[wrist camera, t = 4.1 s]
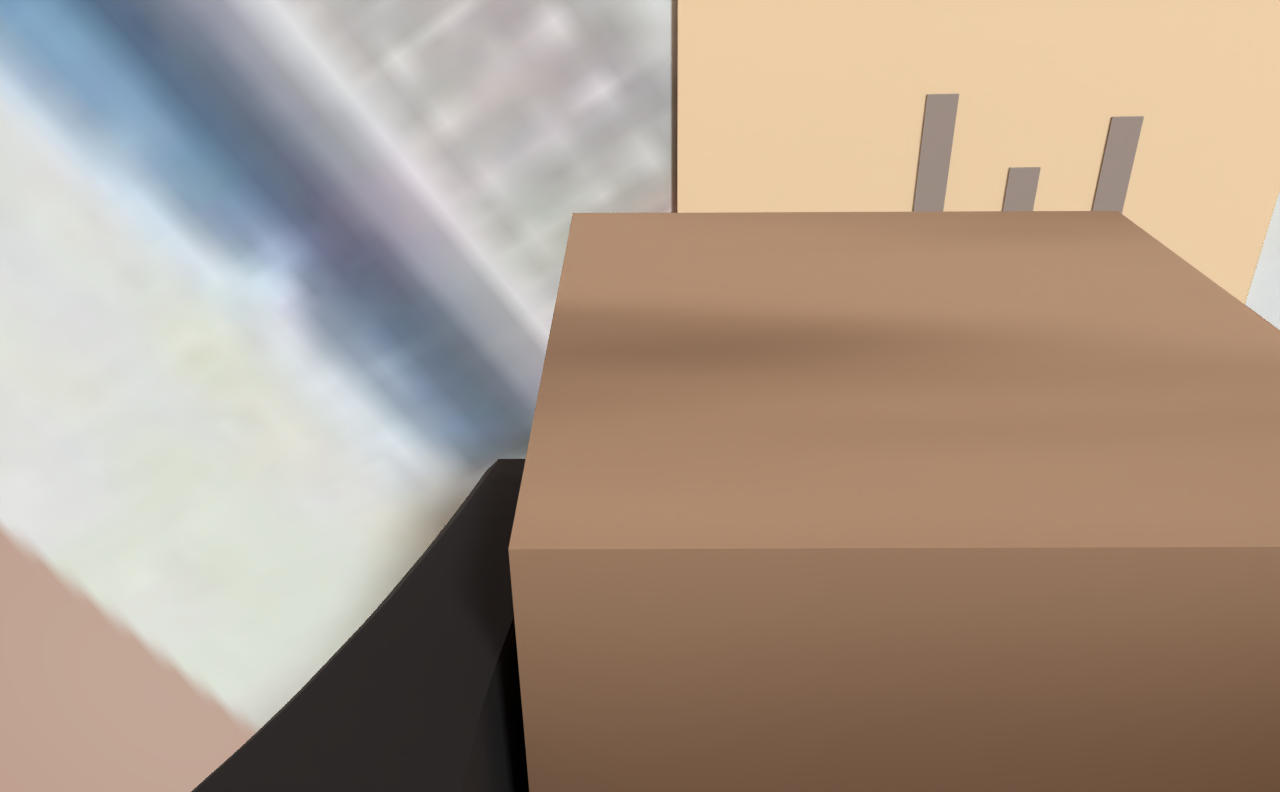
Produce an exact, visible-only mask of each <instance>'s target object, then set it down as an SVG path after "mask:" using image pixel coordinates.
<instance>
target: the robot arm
mask: <svg viewBox="0 0 1280 792" xmlns="http://www.w3.org/2000/svg"><path fill="white" fill-rule="evenodd" d="M525 460H526V459H498V460H497V461H496V462H495V463H494V464H493V465H492V466H491V467H490V468H489V469H488V470H487V471H486V472H485V474H484V475H483V476H482V478H481V479H480V481H479V482H478V483H477V485H476V486H475V487H474V489H473V490H472V491H471V493H470V494H469V496H468V497H467V498H466V500H465V501H464V502H463V504H462V505H461V506H460V508H459V509H458V510H457V512H456V513H455V514H454V516H453V517H452V518H451V519H450V521H449V522H448V523H447V525H446V526H445V527H444V528H443V530H442V531H441V532H440V533H439V535H438V536H437V537H436V539H435V540H434V541H433V542H432V544H431V545H430V546H429V547H428V549H427V550H426V551H425V552H424V554H423V555H422V556H421V557H420V558H419V560H418V561H417V562H416V563H415V564H414V565H413V567H412V568H411V569H410V570H409V571H408V573H407V574H406V575H405V576H404V577H403V578H402V580H401V581H400V582H399V583H398V584H397V586H396V587H395V588H394V589H393V590H392V591H391V593H390V594H389V595H388V596H387V597H386V599H385V600H384V601H383V602H382V603H381V605H380V606H379V607H378V608H377V609H376V610H375V611H374V612H373V614H372V615H371V616H370V617H369V618H368V619H367V620H366V621H365V623H364V624H363V625H362V626H361V627H360V628H359V629H358V630H357V631H356V632H355V633H354V634H353V635H352V636H351V637H350V638H349V639H348V641H347V642H346V643H345V644H344V645H343V646H342V647H341V648H340V649H339V650H338V651H337V652H336V653H335V654H334V655H333V656H332V657H331V658H330V659H329V661H328V662H327V663H326V664H325V665H324V666H323V667H322V668H321V669H320V670H319V671H318V672H317V673H316V674H315V675H314V676H313V677H312V678H311V679H310V681H309V682H308V683H307V684H306V685H305V686H304V687H303V688H302V689H301V690H300V691H299V692H298V693H297V694H296V695H295V696H294V697H293V698H292V699H291V700H290V701H289V702H288V703H287V704H286V705H285V706H284V707H283V708H282V709H281V710H280V711H279V712H278V713H277V714H275V715H274V716H273V717H272V718H271V719H270V720H269V721H268V722H267V723H266V724H265V725H264V726H263V727H262V728H261V729H260V730H259V731H258V732H257V733H256V734H255V735H253V736H252V737H251V738H250V739H249V740H248V741H247V742H246V743H245V744H244V745H243V746H242V747H241V748H240V749H238V750H237V751H236V752H235V753H234V754H233V755H232V756H231V757H230V758H228V759H227V760H226V761H225V762H224V763H223V764H222V765H221V766H220V767H219V768H217V769H216V770H215V771H214V772H213V773H212V774H211V775H209V776H208V777H207V778H206V779H205V780H204V781H203V782H202V783H200V784H199V785H198V786H197V787H196V788H195V789H194V790H193V791H192V792H529V782H528V771H527V759H526V747H525V736H524V724H523V713H522V701H521V690H520V678H519V667H518V655H517V643H516V632H515V620H514V609H513V597H512V586H511V574H510V563H509V551H508V549H509V544H510V538H511V533H512V528H513V523H514V517H515V512H516V507H517V502H518V497H519V491H520V486H521V481H522V476H523V471H524V465H525Z"/></svg>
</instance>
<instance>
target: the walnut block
mask: <svg viewBox="0 0 1280 792" xmlns="http://www.w3.org/2000/svg"><path fill="white" fill-rule="evenodd" d="M508 551H509V563H510V574H511V586H512V597H513V609H514V620H515V632H516V643H517V655H518V667H519V678H520V690H521V701H522V713H523V724H524V736H525V747H526V759H527V771H528V782H529V792H1280V330H1279V329H1277V328H1276V327H1275V326H1273V325H1272V324H1270V323H1269V322H1268V321H1266V320H1265V319H1264V318H1262V317H1261V316H1260V315H1258V314H1257V313H1256V312H1254V311H1253V310H1251V309H1250V308H1249V307H1247V306H1246V305H1245V304H1243V303H1242V302H1241V301H1239V300H1238V299H1237V298H1235V297H1234V296H1232V295H1231V294H1230V293H1228V292H1227V291H1226V290H1224V289H1223V288H1222V287H1220V286H1219V285H1218V284H1216V283H1215V282H1213V281H1212V280H1211V279H1209V278H1208V277H1207V276H1205V275H1204V274H1203V273H1201V272H1200V271H1199V270H1197V269H1196V268H1194V267H1193V266H1192V265H1190V264H1189V263H1188V262H1186V261H1185V260H1184V259H1182V258H1181V257H1180V256H1178V255H1177V254H1175V253H1174V252H1173V251H1171V250H1170V249H1169V248H1167V247H1166V246H1165V245H1163V244H1162V243H1161V242H1159V241H1158V240H1156V239H1155V238H1154V237H1152V236H1151V235H1150V234H1148V233H1147V232H1146V231H1144V230H1143V229H1142V228H1140V227H1139V226H1137V225H1136V224H1135V223H1133V222H1132V221H1131V220H1129V219H1128V218H1127V217H1125V216H1124V215H1123V214H1121V213H1120V212H1118V211H960V212H726V213H573V215H572V221H571V226H570V231H569V236H568V241H567V247H566V252H565V257H564V262H563V267H562V273H561V278H560V283H559V288H558V294H557V299H556V304H555V309H554V314H553V320H552V325H551V330H550V335H549V340H548V346H547V351H546V356H545V361H544V366H543V372H542V377H541V382H540V387H539V392H538V398H537V403H536V408H535V413H534V419H533V424H532V429H531V434H530V439H529V445H528V450H527V455H526V460H525V465H524V471H523V476H522V481H521V486H520V491H519V497H518V502H517V507H516V512H515V517H514V523H513V528H512V533H511V538H510V544H509V549H508Z"/></svg>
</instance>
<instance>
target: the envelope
mask: <svg viewBox="0 0 1280 792" xmlns="http://www.w3.org/2000/svg"><path fill="white" fill-rule="evenodd" d="M1279 191H1280V0H678V42H677V213H726V212H960V211H1118V212H1120V213H1121V214H1123V215H1124V216H1125V217H1127V218H1128V219H1129V220H1131V221H1132V222H1133V223H1135V224H1136V225H1137V226H1139V227H1140V228H1142V229H1143V230H1144V231H1146V232H1147V233H1148V234H1150V235H1151V236H1152V237H1154V238H1155V239H1156V240H1158V241H1159V242H1161V243H1162V244H1163V245H1165V246H1166V247H1167V248H1169V249H1170V250H1171V251H1173V252H1174V253H1175V254H1177V255H1178V256H1180V257H1181V258H1182V259H1184V260H1185V261H1186V262H1188V263H1189V264H1190V265H1192V266H1193V267H1194V268H1196V269H1197V270H1199V271H1200V272H1201V273H1203V274H1204V275H1205V276H1207V277H1208V278H1209V279H1211V280H1212V281H1213V282H1215V283H1216V284H1218V285H1219V286H1220V287H1222V288H1223V289H1224V290H1226V291H1227V292H1228V293H1230V294H1231V295H1232V296H1234V297H1235V298H1237V299H1238V300H1239V301H1241V302H1242V303H1243V304H1245V302H1246V299H1247V296H1248V292H1249V289H1250V286H1251V283H1252V279H1253V276H1254V273H1255V269H1256V266H1257V263H1258V260H1259V256H1260V253H1261V250H1262V247H1263V243H1264V240H1265V237H1266V233H1267V230H1268V227H1269V224H1270V220H1271V217H1272V214H1273V211H1274V207H1275V204H1276V201H1277V197H1278V194H1279Z"/></svg>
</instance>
